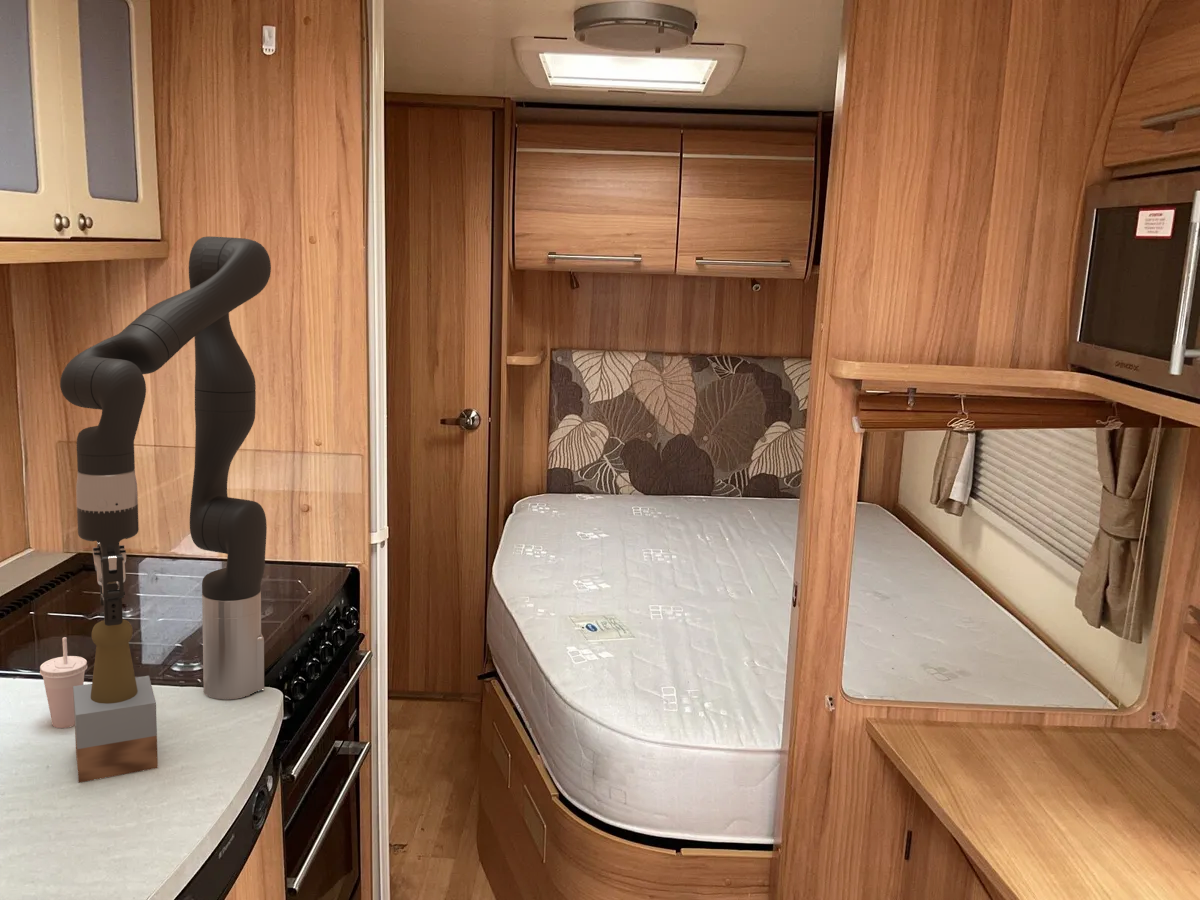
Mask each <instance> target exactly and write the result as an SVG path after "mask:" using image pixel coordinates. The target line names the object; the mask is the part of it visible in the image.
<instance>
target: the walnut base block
mask: <svg viewBox="0 0 1200 900" xmlns="http://www.w3.org/2000/svg"><path fill="white" fill-rule="evenodd" d="M74 734H75V735H74V738H75V756H76V769H77V779H78V784H79V783H85V782H90V780H91V781H95V780H94V779H96V780H101V779H106V778H105V777H107V778H111V777H117V776H122V774H123V775H128V774H132V773H134V774H135V773H137V772H143V770H144V771H148V770H154V769H159V765H158V764H159V762H158V735H157V736H152V737H146V738H140V739H134V740H128V741H122V742H116V743H111V744H105V745H99V746H93V747H87V748H81V749H77V741H76V730H75V729H74ZM100 778H101V779H100Z"/></svg>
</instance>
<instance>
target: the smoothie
mask: <svg viewBox="0 0 1200 900" xmlns="http://www.w3.org/2000/svg"><path fill="white" fill-rule="evenodd" d="M61 640H62V656H58V657H53V658H51V659H49V660H46V661H44V662H43V663H42V664H41V665H40V666H39V670H40V671H39V674H40V675H41V676H42V678H43V679H42V680H43V684H44V688H45V694H46V699H47V704H48V708H49V714H50V719H51V720H50V721H51V724H52V726H53V727H54V728H57V729H67V728H70V727H71V728H72V727H75V718H74V694H73V686H79V685H84V681H85V672H86V670H87V669H88V664H87V663H88V661H87V659H86V658H84V657H82V656H78V655H77V656H76V655H68V642H67V641H68V638H67V637H65V636H64V637H62V639H61Z"/></svg>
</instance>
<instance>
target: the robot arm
mask: <svg viewBox="0 0 1200 900" xmlns="http://www.w3.org/2000/svg"><path fill="white" fill-rule="evenodd" d="M188 259H189V260H188V282H189V289H187V290H185V291H183V292H181V293H178V294H176V295H172V296H170V297H168V298H166V299H164V300H161V301H159V302H157V303H156V304H154V305H153V306H150V307H149V308H147V309H146V310H145V311H143V312H142V313H141V314H140V315H138V316H137V317H136V318H135V319H134V320H133V321H132V322H131V323H129V324H128V325H127V326H125V328H124V329H123V330H122V331H121V332H119V333H117V334H115V335H113V336H110V337H108V338H106V339H104V340H102V341H99V342H98V343H96V344H94V345H92V346H90V347H88V348H86V349H85V350H83V351H82V352H81V351H80V352H79V353H78V354H76V355H75V356H74V357H73V358H72V359H70V361H68V363H67V364H66V365H65V366H64V369H63V371H62V373H61V375H60V380H59V381H60V382H59V387H60V391H61V393H62V396H63V397H64V398H65V400H67V402H69V403H70V404H72V405H74V406H77V407H80V408H85V409H91V410H92V409H94V410H99V411H100V410H101V416H100V418H99V422H98V425H95V426H88V427H85V428H84V429H81V430H80V431H79V432H78V434H77V438H76V461H77V465H76V466H77V479H76V485H75V486H76V487H75V491H76V492H75V494H76V498H75V499H76V514H77V515H76V516H77V518H76V519H77V523H76V524H77V535H78V537H79V538H80V539H81V540H84V541H87V542H96V546H94V547H93V546H92V557H93V562H94V563H93V564H94V570H95V572H96V579H97V584H98V585H99V594H100V605H101V606H103V617H104V618H103V620H104V622H105V625H107V626H111V625H119V624H121V623H122V622H123V599H124V598H125V595H126V593H125V592H126V591H125V590H124V588H125V587H124V583H125V582H126V578H127V577H126V561H127V551H126V549H125V545H124V544H120V542H122V540H128V539H131V538H133V537H135V536H137V534H138V533H139V528H140V527H139V503H138V502H139V501H138V483H137V476H136V469H135V468H136V467H135V465H136V464H135V439H136V435H137V431H138V427H139V424H140V419H141V415H142V412H143V409H144V404H145V401H146V393H147V387H146V386H147V385H146V380H145V377H144V375H148V374H152V373H155V372H156V371H158V370H160V369H161V368H162V367H163V366H164V365H166V363H167V362H169V360H171V359H172V358H173V357H174V356H175V355H176V354H177V353H178V352H179V351H180V350H181V349H182V348H183V347H185V346H186V345H187V343H189V342H190V341H191V340H193V339H194V363H195V364H194V365H195V366H194V367H195V370H194V372H195V373H194V377H195V378H194V419H195V420H194V421H195V422H194V423H195V424H194V425H195V432H194V433H195V437H194V439H195V440H194V442H195V443H194V446H195V447H194V469H193V480H192V487H191V488H192V489H191V499H190V509H189V532H190V537H191V539H192V543H194V545H195V546H196V547H198V548H199V549H201V550H203V551H208V552H213V553H219V554H227V559H226V566H225V567H224V568H219V569H216V570H213V571H211V572H209V573H207V574H206V575H204V576H203V578H202V581H201V593H202V594H201V608H202V616H201V617H202V620H201V621H202V663H203V664H202V666H203V667H202V671H203V679H202V683H203V693H204V694H205V695H206V697H209V698H212V699H217V700H236V699H242V698H245V696H246V697H249V696H251V695H250V694H252V693H254V692H256V691H258V690H262V689H264V690H265V638H264V636H263V634H262V598H261V597H262V594H261V593H262V581H263V577H264V573H265V567H266V550H267V549H266V547H267V546H266V545H267V544H266V543H267V532H268V531H267V516H266V512H265V511H264V508H263V507H262V505H261V504H260V503H258V502H257V501H255V500H250V499H243V498H235V497H229V496H228V482H229V481H228V479H229V473H230V472H229V471H230V467H231V464H232V461H233V460H234V458H235V456H236V454H237V452H238V451H239V449H240V447H241V446H242V445H243V443H244V441H246V438H247V436H248V435H249V433H250V431H251V429H252V428H253V425H254V423H255V419H256V402H257V401H256V400H257V399H256V398H257V397H256V395H257V394H256V393H257V392H256V390H257V389H256V388H257V386H256V378H255V375H254V372H253V370H252V368H251V365H250V363H249V361H248V359H247V357H246V355H245V353H244V352H243V350H242V348H241V346H240V345H239V343H238V341H237V339H236V336H235V335H234V332H233V330H232V329H233V328H232V326H231V321H230V312H232V311H234V310H235V309H236V308H238V307H240V306H241V305H243V304H244V303H247V302H248V301H249V300H251V299H253V298H254V297H256V296H258V295H259V294H260V293H261V292H262V291H263V290H264V289H265V287H266V286H267V285H268V282H269V280H270V277H271V271H272V265H271V259H270V255H269V253H268V251H267V250H266V248H265V247H264V246H263V245H262V244H261V243H260V242H259V241H255V240H252V239H249V238H243V237H229V236H228V237H227V236H225V237H224V236H203V237H201V238H198V239H197V240H196V241H195V242H194V244H193V245H192V248H191V250H190V254H189V258H188ZM258 692H259V691H258ZM256 693H257V692H256ZM254 694H255V693H254ZM252 695H253V694H252Z"/></svg>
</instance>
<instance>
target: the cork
mask: <svg viewBox="0 0 1200 900" xmlns="http://www.w3.org/2000/svg"><path fill="white" fill-rule="evenodd" d="M133 634H134V633H133V626H132V624H131V623H130V622H129V620H126V619H123V622H122V623H121V624H119V625H111V626H107V625H105V622H104V619H103V620H100V621H99V622H97V623H95V624H94V626H93V627H92V631H91V640H92V642H93V644H94V645H95V646H96V647H95V654H94V664H93V672H92V674H93V675H92V682H91V684H92V689H91V699H92V701H94V702H97V703H106V704H109V703H118V702H122V701H126V700H128V699H131V698H132V697H134V696H135V695H136V694H137V692H138V690H137V685H136V679H135V678H136V676H135V670H134V663H133V658H132V654H131V648H130V641H131V640H132V637H133Z"/></svg>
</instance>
